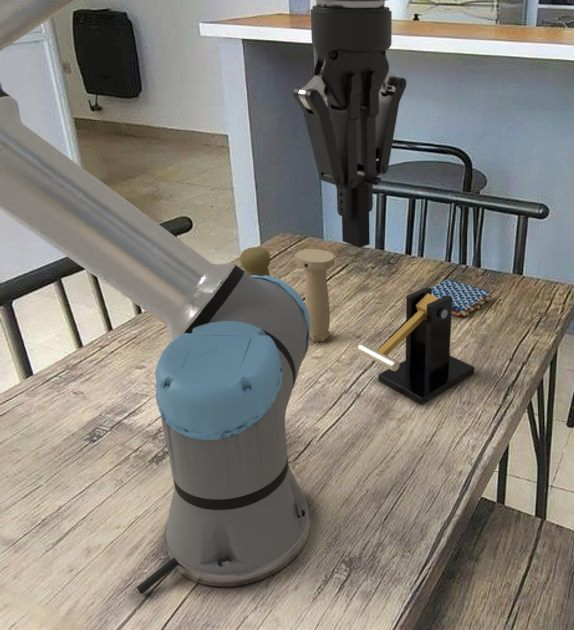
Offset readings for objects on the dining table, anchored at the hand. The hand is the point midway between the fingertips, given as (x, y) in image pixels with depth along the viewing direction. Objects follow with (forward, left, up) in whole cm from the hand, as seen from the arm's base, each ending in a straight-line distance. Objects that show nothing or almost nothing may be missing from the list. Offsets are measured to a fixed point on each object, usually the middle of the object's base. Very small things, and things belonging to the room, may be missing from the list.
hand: (356, 242), depth 74 cm
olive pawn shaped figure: (+16, +45, -30) cm, 56 cm away
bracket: (+20, +7, -29) cm, 36 cm away
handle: (+16, +28, -30) cm, 44 cm away
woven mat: (+43, +21, -30) cm, 56 cm away
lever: (+16, +7, -20) cm, 27 cm away
